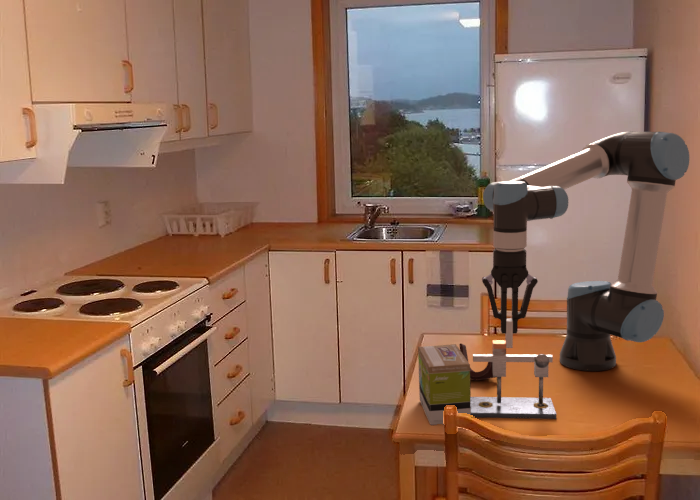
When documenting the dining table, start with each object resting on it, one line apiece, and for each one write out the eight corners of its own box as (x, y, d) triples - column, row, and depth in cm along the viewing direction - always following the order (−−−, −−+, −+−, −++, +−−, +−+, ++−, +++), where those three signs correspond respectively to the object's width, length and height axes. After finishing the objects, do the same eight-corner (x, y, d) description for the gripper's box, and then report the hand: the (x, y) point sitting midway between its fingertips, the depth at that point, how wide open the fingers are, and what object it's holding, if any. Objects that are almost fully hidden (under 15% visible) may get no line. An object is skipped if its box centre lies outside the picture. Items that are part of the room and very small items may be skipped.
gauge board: (550, 402, 190) (550, 397, 190) (556, 419, 180) (556, 413, 180) (468, 401, 192) (468, 396, 192) (469, 417, 183) (469, 412, 182)
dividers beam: (550, 401, 186) (551, 351, 184) (552, 405, 183) (553, 355, 181) (472, 400, 188) (472, 350, 186) (473, 404, 186) (473, 354, 183)
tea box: (418, 401, 193) (417, 345, 190) (457, 399, 194) (457, 342, 191) (429, 426, 179) (428, 365, 176) (472, 423, 179) (471, 362, 177)
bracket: (499, 376, 202) (492, 338, 204) (435, 385, 206) (429, 348, 208) (501, 376, 207) (495, 340, 210) (439, 386, 212) (434, 349, 214)
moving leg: (504, 400, 187) (505, 340, 185) (505, 404, 185) (506, 343, 182) (492, 400, 188) (492, 340, 185) (493, 404, 185) (493, 343, 182)
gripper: (536, 245, 182) (535, 341, 186) (480, 245, 183) (480, 341, 188) (540, 251, 174) (538, 351, 179) (482, 251, 176) (481, 351, 180)
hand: (508, 346), depth 183 cm, fingers closed
